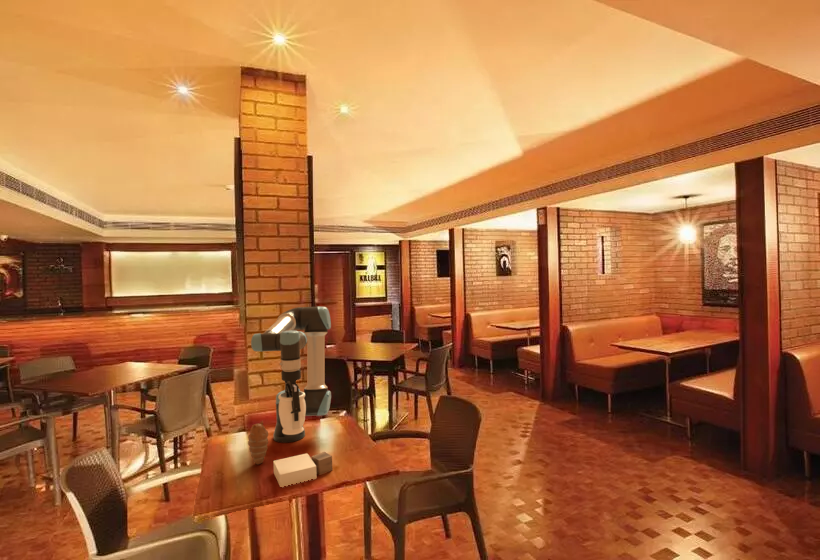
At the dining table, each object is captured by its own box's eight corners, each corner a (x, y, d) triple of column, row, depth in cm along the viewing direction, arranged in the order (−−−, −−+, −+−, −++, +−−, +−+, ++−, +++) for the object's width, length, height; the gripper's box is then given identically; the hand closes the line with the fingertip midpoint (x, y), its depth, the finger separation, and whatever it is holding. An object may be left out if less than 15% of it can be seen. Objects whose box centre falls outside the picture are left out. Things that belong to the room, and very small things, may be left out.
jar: (311, 427, 177) (309, 391, 177) (299, 437, 167) (297, 398, 167) (287, 426, 180) (286, 390, 180) (274, 435, 170) (273, 397, 169)
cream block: (273, 472, 177) (273, 460, 177) (307, 464, 184) (307, 453, 183) (280, 487, 165) (280, 474, 165) (316, 478, 171) (316, 466, 171)
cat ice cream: (256, 470, 180) (255, 427, 180) (244, 466, 184) (242, 424, 184) (273, 461, 188) (271, 420, 187) (261, 458, 192) (259, 417, 191)
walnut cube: (312, 470, 179) (311, 456, 178) (324, 465, 183) (324, 451, 182) (319, 475, 174) (319, 460, 174) (332, 470, 178) (331, 455, 178)
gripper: (276, 365, 181) (277, 417, 182) (287, 376, 161) (289, 435, 162) (294, 363, 185) (295, 414, 185) (307, 373, 165) (309, 431, 165)
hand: (292, 424), depth 174 cm, fingers closed on jar, 10 cm apart
